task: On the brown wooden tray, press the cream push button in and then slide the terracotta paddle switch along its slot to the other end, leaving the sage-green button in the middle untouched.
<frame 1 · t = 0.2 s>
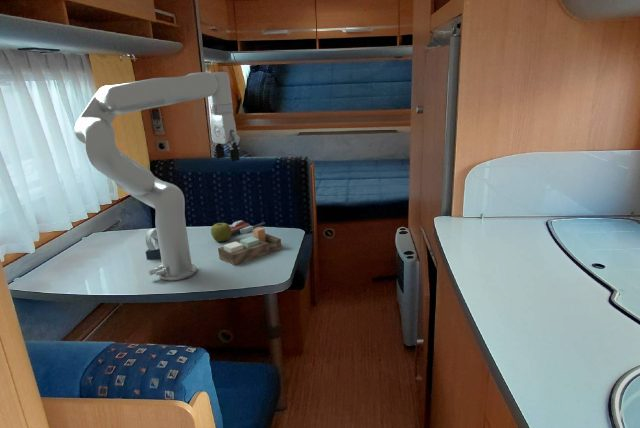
hand: (227, 159, 165), 36 cm above the table, tool pointing down, fingers open, 9 cm apart
button b: (249, 243, 174), point 4 cm above the table, slide at 0.0 cm
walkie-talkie: (243, 231, 202), on the table
brown wooden tray: (251, 253, 175), on the table
white sculpture: (156, 257, 177), on the table
slider: (259, 235, 180), point 5 cm above the table, slide at 0.0 cm
button a: (233, 248, 169), point 4 cm above the table, slide at 0.0 cm
apple: (222, 241, 190), on the table
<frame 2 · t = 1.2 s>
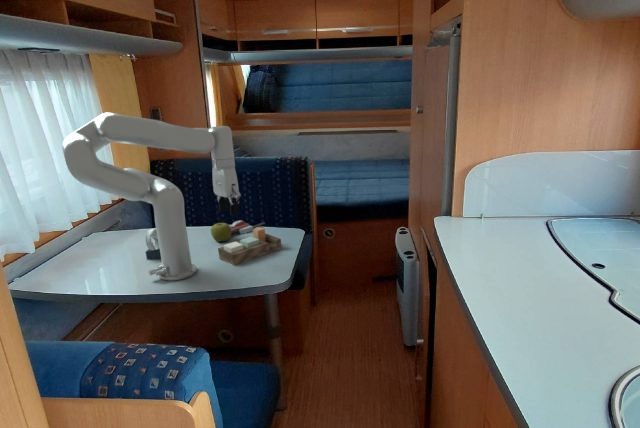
hand: (229, 212, 165), 18 cm above the table, tool pointing down, fingers open, 6 cm apart
nothing on the table moved.
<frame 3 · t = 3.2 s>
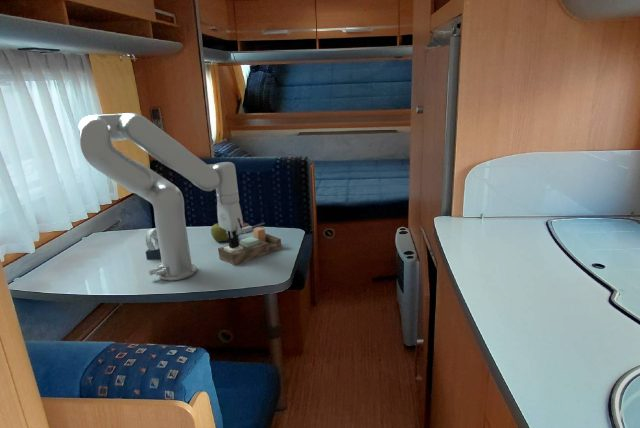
hand: (234, 246, 169), 5 cm above the table, tool pointing down, fingers closed
button a: (233, 250, 170), point 3 cm above the table, slide at 0.8 cm, touching gripper
everything else where it was.
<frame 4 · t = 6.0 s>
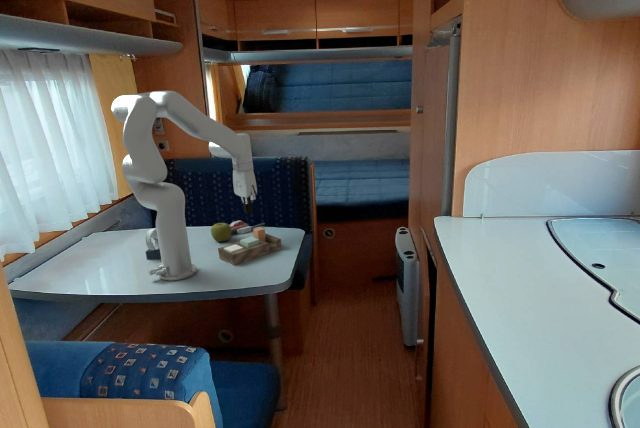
hand: (248, 212, 184), 12 cm above the table, tool pointing down, fingers closed
button a: (233, 251, 170), point 3 cm above the table, slide at 1.1 cm
everything else where it was.
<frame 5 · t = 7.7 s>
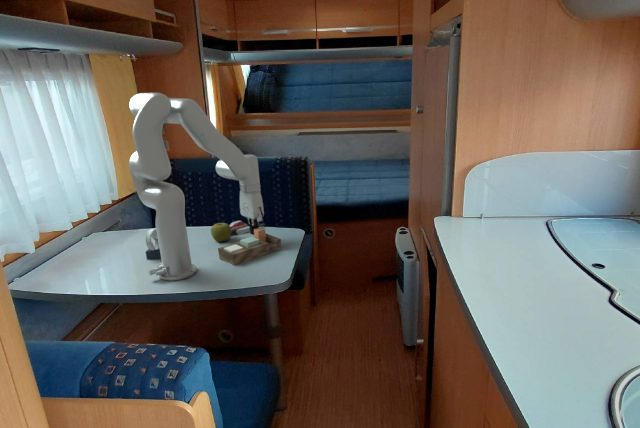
hand: (254, 233, 183), 5 cm above the table, tool pointing down, fingers closed
slider: (260, 235, 180), point 5 cm above the table, slide at 0.3 cm, touching gripper
everything else where it was.
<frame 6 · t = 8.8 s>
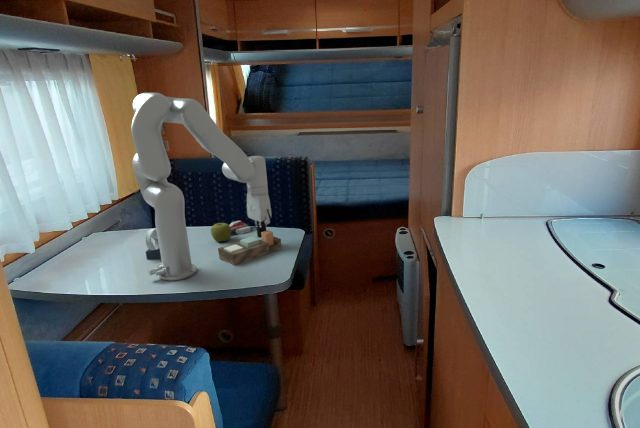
hand: (262, 236, 179), 5 cm above the table, tool pointing down, fingers closed
slider: (267, 238, 177), point 5 cm above the table, slide at 5.3 cm, touching gripper
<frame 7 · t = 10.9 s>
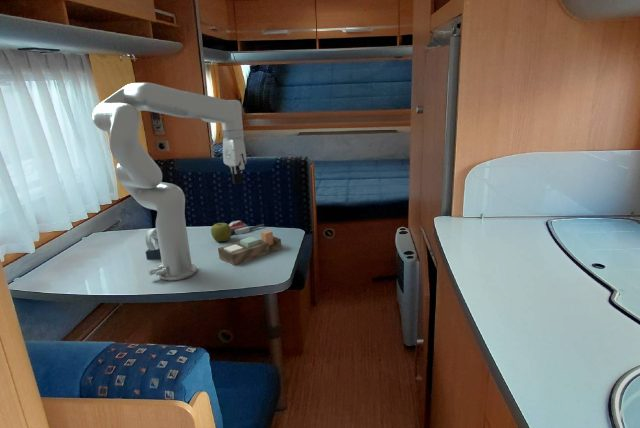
hand: (237, 183, 178), 25 cm above the table, tool pointing down, fingers closed
slider: (267, 238, 177), point 5 cm above the table, slide at 5.1 cm
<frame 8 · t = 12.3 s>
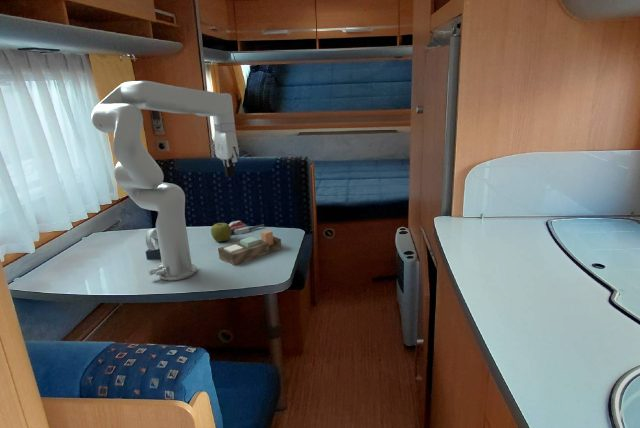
hand: (230, 176, 179), 27 cm above the table, tool pointing down, fingers closed
at the end: button a slide at 1.1 cm; slider slide at 5.1 cm; button b slide at 0.0 cm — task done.
